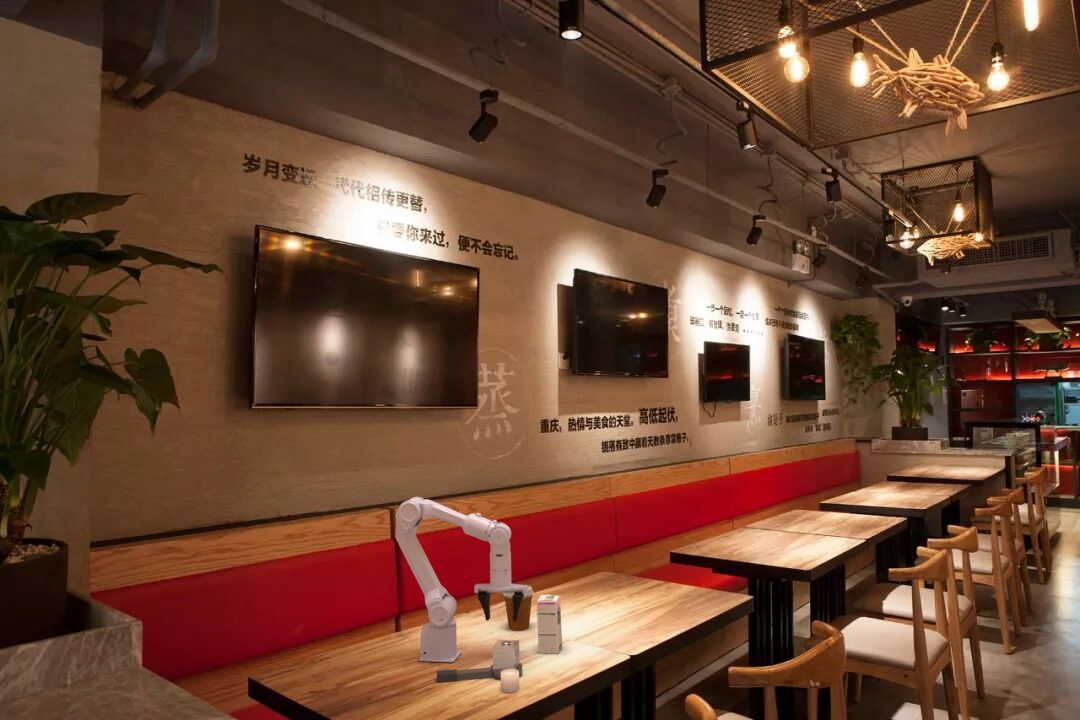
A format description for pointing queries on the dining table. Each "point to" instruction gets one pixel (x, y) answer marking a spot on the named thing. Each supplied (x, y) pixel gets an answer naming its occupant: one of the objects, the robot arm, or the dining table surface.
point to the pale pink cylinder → (509, 680)
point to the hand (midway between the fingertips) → (501, 619)
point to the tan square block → (506, 654)
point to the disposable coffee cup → (523, 611)
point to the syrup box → (549, 624)
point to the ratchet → (471, 674)
